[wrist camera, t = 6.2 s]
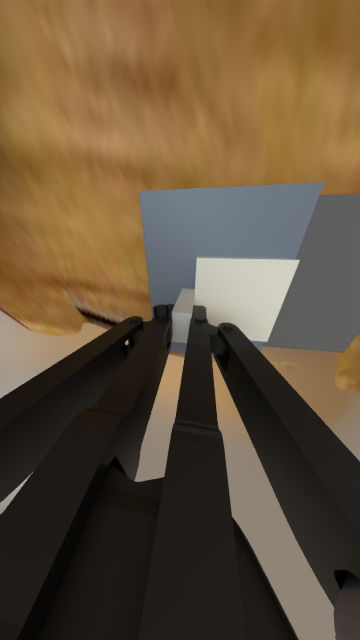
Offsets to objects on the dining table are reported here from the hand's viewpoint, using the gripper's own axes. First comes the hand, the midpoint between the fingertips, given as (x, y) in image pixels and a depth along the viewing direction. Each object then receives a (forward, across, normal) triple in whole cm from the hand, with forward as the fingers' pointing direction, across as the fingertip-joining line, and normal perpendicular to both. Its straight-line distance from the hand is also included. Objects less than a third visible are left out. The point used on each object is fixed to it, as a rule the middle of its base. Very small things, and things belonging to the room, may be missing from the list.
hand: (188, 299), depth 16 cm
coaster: (+1, +5, 0) cm, 5 cm away
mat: (+6, +18, 0) cm, 19 cm away
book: (+5, +3, 0) cm, 6 cm away
